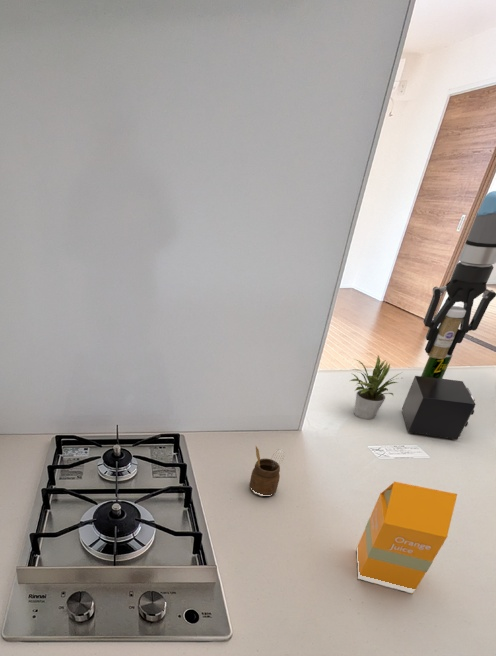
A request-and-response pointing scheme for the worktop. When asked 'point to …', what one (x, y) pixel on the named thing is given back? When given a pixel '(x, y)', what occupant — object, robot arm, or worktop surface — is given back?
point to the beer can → (436, 367)
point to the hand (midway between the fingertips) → (437, 352)
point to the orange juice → (405, 533)
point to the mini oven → (438, 407)
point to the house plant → (371, 391)
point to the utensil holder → (265, 475)
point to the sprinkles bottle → (447, 332)
